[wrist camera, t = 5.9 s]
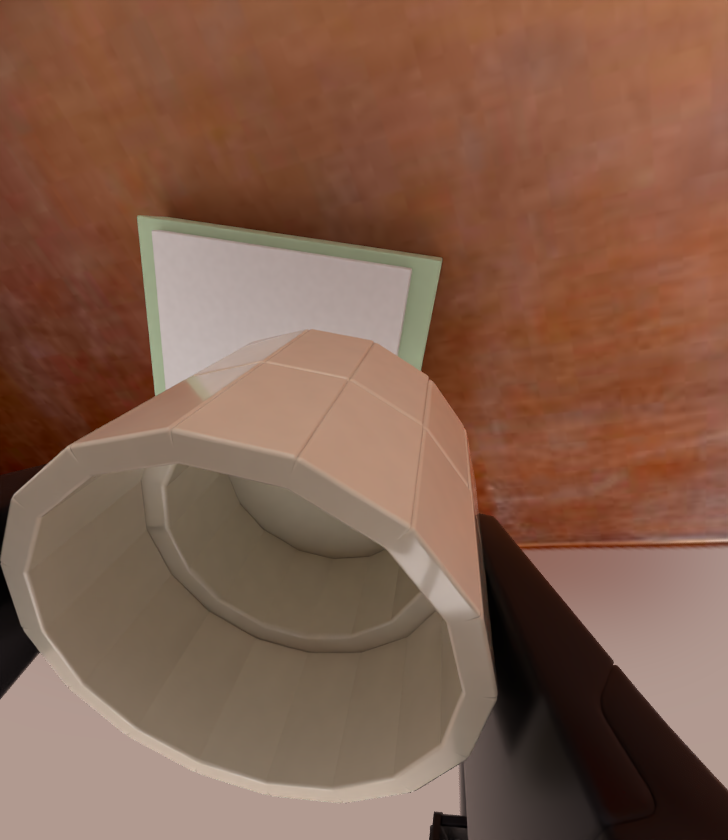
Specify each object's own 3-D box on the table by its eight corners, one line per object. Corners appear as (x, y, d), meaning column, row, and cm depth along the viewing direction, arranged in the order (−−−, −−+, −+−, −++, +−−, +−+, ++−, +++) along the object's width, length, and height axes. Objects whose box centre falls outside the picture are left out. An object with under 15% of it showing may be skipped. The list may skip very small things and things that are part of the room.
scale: (395, 499, 22) (389, 532, 19) (184, 453, 23) (154, 478, 21) (443, 257, 16) (442, 261, 14) (167, 216, 18) (125, 214, 16)
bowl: (435, 591, 11) (428, 848, 6) (207, 534, 11) (53, 729, 7) (508, 358, 8) (585, 521, 3) (199, 300, 9) (-67, 375, 4)
